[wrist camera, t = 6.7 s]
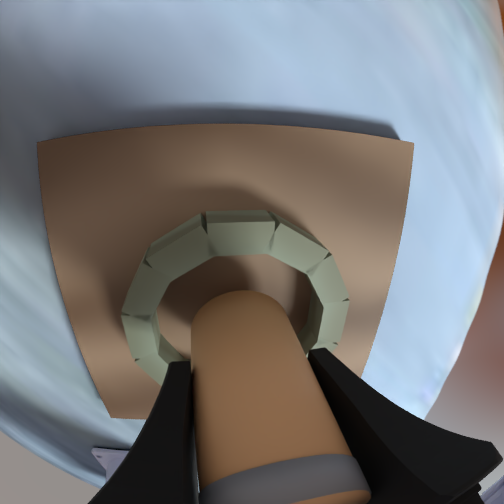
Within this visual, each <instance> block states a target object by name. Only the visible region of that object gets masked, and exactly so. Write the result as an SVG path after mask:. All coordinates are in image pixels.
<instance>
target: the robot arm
mask: <svg viewBox="0 0 504 504" xmlns="http://www.w3.org/2000/svg"><path fill="white" fill-rule="evenodd" d="M307 359H308V361H309V363H310V366H311V368H312V370H313V372H314V374H315V376H316V378H317V380H318V383H319V385H320V387H321V389H322V391H323V393H324V395H325V398H326V400H327V402H328V404H329V406H330V408H331V410H332V413H333V415H334V417H335V419H336V421H337V423H338V426H339V428H340V430H341V432H342V434H343V436H344V438H345V441H346V443H347V445H348V447H349V449H350V451H351V454H352V456H353V457H354V458H355V459H356V460H357V462H358V464H359V466H360V468H361V470H362V472H363V475H364V477H365V479H366V481H367V483H368V485H369V488H370V490H371V492H372V493H371V499H370V500H369V501H368V502H367V503H366V504H504V476H503V477H501V478H500V479H499V480H498V481H497V482H495V483H494V484H493V485H492V486H491V487H489V488H488V489H487V490H486V491H485V492H483V493H482V495H481V496H480V495H479V494H478V492H479V491H480V490H481V486H480V485H479V482H480V481H481V480H482V479H483V478H485V477H486V476H487V475H488V474H489V473H490V472H492V471H493V470H494V469H495V468H496V467H497V466H498V465H499V464H500V463H501V462H502V461H503V458H502V456H501V455H500V454H499V452H498V451H497V449H496V448H495V447H494V445H493V444H492V443H491V442H488V441H483V440H478V439H474V438H470V437H466V436H462V435H459V434H456V433H453V432H450V431H448V430H445V429H442V428H440V427H437V426H435V425H433V424H431V423H428V422H426V421H424V420H422V419H420V418H418V417H416V416H414V415H413V414H411V413H409V412H408V411H406V410H404V409H402V408H401V407H399V406H397V405H396V404H394V403H393V402H391V401H390V400H388V399H387V398H386V397H384V396H383V395H381V394H380V393H379V392H377V391H376V390H375V389H373V388H372V387H371V386H369V385H368V384H367V383H366V382H364V381H363V380H362V379H361V378H360V377H358V376H357V375H356V374H355V373H354V372H352V371H351V370H350V369H349V368H348V367H347V366H346V365H345V364H343V363H342V362H341V361H340V360H339V359H338V358H337V357H336V356H334V355H333V354H332V353H331V352H330V351H329V350H328V349H327V348H325V347H323V348H317V349H310V350H309V352H308V357H307ZM92 454H93V455H94V456H95V458H96V459H97V460H98V461H99V463H100V464H101V465H102V466H103V468H104V469H105V470H106V471H107V472H106V483H105V485H104V486H103V487H102V488H101V489H100V491H99V492H98V493H97V494H96V495H95V496H94V497H93V498H92V500H91V501H90V502H89V503H88V504H199V501H198V495H199V491H198V478H197V459H196V447H195V433H194V417H193V394H192V372H191V365H190V361H172V362H170V363H169V365H168V369H167V372H166V375H165V378H164V381H163V384H162V387H161V389H160V392H159V394H158V397H157V399H156V401H155V403H154V406H153V408H152V410H151V412H150V414H149V416H148V418H147V420H146V422H145V424H144V426H143V428H142V430H141V432H140V434H139V435H138V437H137V439H136V441H135V442H134V444H133V446H132V447H131V449H130V450H129V451H123V450H111V449H102V448H92Z"/></svg>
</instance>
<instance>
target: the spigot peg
mask: <svg viewBox="0 0 504 504" xmlns="http://www.w3.org/2000/svg"><path fill="white" fill-rule="evenodd" d="M191 372H192V394H193V417H194V433H195V447H196V459H197V471H198V481H199V491H200V493H199V495H198V501H199V504H366V503H367V502H368V501H369V500H370V499H371V493H372V492H371V490H370V488H369V485H368V483H367V481H366V479H365V477H364V475H363V472H362V470H361V468H360V466H359V464H358V462H357V460H356V459H355V458H354V457H353V456H352V454H351V451H350V449H349V447H348V445H347V443H346V441H345V438H344V436H343V434H342V432H341V430H340V428H339V426H338V423H337V421H336V419H335V417H334V415H333V413H332V410H331V408H330V406H329V404H328V402H327V400H326V398H325V395H324V393H323V391H322V389H321V387H320V385H319V383H318V380H317V378H316V376H315V374H314V372H313V370H312V368H311V366H310V363H309V361H308V359H307V357H306V355H305V353H304V351H303V348H302V346H301V344H300V342H299V340H298V338H297V336H296V334H295V331H294V329H293V327H292V325H291V323H290V321H289V319H288V317H287V314H286V312H285V310H284V309H283V307H282V306H281V305H280V304H279V303H278V302H277V301H276V300H275V299H273V298H272V297H270V296H268V295H266V294H263V293H261V292H256V291H249V290H240V291H232V292H228V293H225V294H222V295H219V296H217V297H215V298H213V299H212V300H210V301H208V302H207V303H206V304H205V305H204V306H203V307H202V308H201V309H200V310H199V311H198V312H197V314H196V315H195V317H194V319H193V322H192V325H191Z"/></svg>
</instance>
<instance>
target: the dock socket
mask: <svg viewBox="0 0 504 504" xmlns="http://www.w3.org/2000/svg"><path fill="white" fill-rule="evenodd" d="M413 150H414V143H412V142H407V141H402V140H396V139H391V138H385V137H379V136H373V135H367V134H360V133H353V132H346V131H337V130H329V129H319V128H309V127H297V126H282V125H263V124H180V125H161V126H147V127H136V128H125V129H116V130H108V131H100V132H93V133H86V134H79V135H73V136H67V137H61V138H56V139H51V140H46V141H41V142H37V153H38V167H39V178H40V188H41V196H42V203H43V210H44V217H45V223H46V228H47V234H48V239H49V244H50V249H51V253H52V258H53V262H54V266H55V271H56V274H57V278H58V282H59V286H60V289H61V293H62V296H63V300H64V303H65V306H66V310H67V313H68V316H69V319H70V322H71V325H72V328H73V331H74V334H75V336H76V339H77V342H78V345H79V347H80V350H81V352H82V355H83V358H84V360H85V362H86V365H87V367H88V370H89V372H90V374H91V377H92V379H93V381H94V383H95V386H96V388H97V390H98V392H99V394H100V396H101V399H102V401H103V403H104V405H105V407H106V409H107V411H108V413H109V415H110V417H111V418H122V419H147V418H148V416H149V414H150V412H151V410H152V408H153V406H154V403H155V401H156V399H157V397H158V394H159V392H160V389H161V387H162V384H163V381H164V378H165V375H166V372H167V369H168V365H169V363H170V362H172V361H190V365H191V325H192V322H193V319H194V317H195V315H196V314H197V312H198V311H199V310H200V309H201V308H202V307H203V306H204V305H205V304H206V303H207V302H208V301H210V300H212V299H213V298H215V297H217V296H219V295H222V294H225V293H228V292H232V291H240V290H249V291H256V292H261V293H263V294H266V295H268V296H270V297H272V298H273V299H275V300H276V301H277V302H278V303H279V304H280V305H281V306H282V307H283V309H284V310H285V312H286V314H287V317H288V319H289V321H290V323H291V325H292V327H293V329H294V331H295V334H296V336H297V338H298V340H299V342H300V344H301V346H302V348H303V351H304V353H305V355H306V357H308V352H309V350H310V349H317V348H323V347H325V348H327V349H328V350H329V351H330V352H331V353H332V354H333V355H334V356H336V357H337V358H338V359H339V360H340V361H341V362H342V363H343V364H345V365H346V366H347V367H348V368H349V369H350V370H351V371H352V372H354V373H355V374H356V375H357V376H358V377H360V378H361V376H362V373H363V370H364V368H365V365H366V362H367V359H368V357H369V354H370V351H371V348H372V345H373V342H374V339H375V336H376V332H377V329H378V326H379V323H380V319H381V316H382V313H383V309H384V306H385V302H386V298H387V295H388V291H389V287H390V283H391V279H392V275H393V271H394V267H395V263H396V258H397V254H398V249H399V244H400V239H401V234H402V229H403V223H404V218H405V212H406V206H407V199H408V193H409V186H410V178H411V170H412V161H413Z"/></svg>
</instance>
